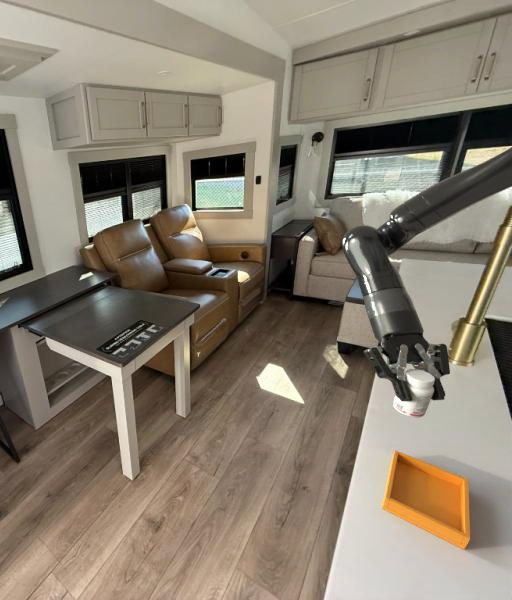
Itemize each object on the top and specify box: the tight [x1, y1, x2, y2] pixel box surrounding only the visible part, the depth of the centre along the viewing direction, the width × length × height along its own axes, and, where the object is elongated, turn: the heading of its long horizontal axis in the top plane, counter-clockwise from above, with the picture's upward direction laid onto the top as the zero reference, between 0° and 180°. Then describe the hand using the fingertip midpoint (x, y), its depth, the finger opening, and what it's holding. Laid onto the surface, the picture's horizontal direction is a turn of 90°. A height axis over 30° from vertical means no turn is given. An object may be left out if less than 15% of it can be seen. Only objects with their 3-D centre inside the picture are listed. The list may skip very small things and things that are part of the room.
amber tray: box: [381, 450, 471, 551], centre depth 57 cm, size 10×13×3 cm
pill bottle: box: [392, 368, 435, 419], centre depth 61 cm, size 5×5×8 cm
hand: (422, 400), depth 59 cm, fingers closed on pill bottle, 4 cm apart
